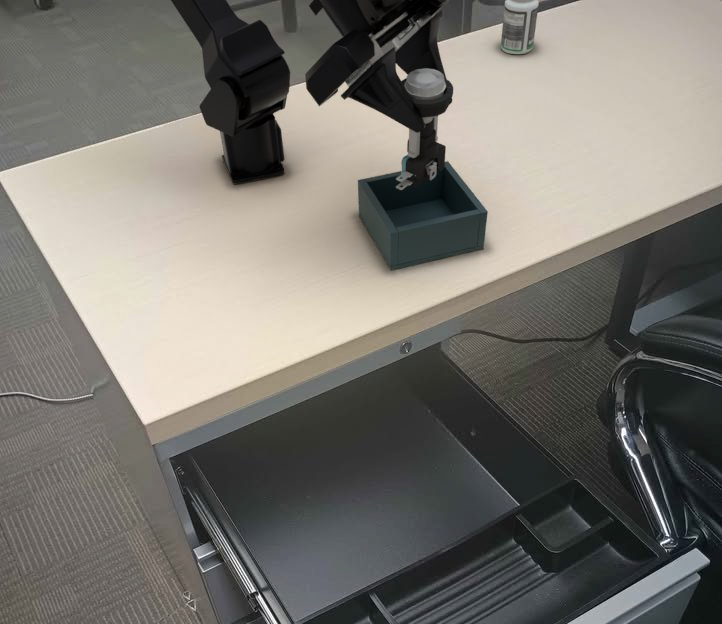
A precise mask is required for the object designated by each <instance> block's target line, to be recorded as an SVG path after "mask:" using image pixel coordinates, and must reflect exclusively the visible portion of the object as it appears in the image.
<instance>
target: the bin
mask: <svg viewBox="0 0 722 624" xmlns="http://www.w3.org/2000/svg"><path fill="white" fill-rule="evenodd" d="M401 173H402V170H399V171H394V172H390V173H385V174H380V175H375V176H370V177H366V178H360V179H358V180H357V195H358V197H357V199H358V202H357V203H358V218H359V219H360V221H361V223H362V224H363V226H364V227H365V229H366V231H367V233H368V235H369V236H370V237H371V239H372V241H373V243H374V245H375V247H376V248H377V249H378V252H379V253H380V254H381V256H382V258H383V259H384V261H385V263H386V265H387V266H388V268H389V270H390V271H393V270H399V269H404V268H407V267H411V266H415V265H419V264H424V263H428V262H432V261H438V260H441V259H446V258H450V257H455V256H458V255H463V254H467V253H472V252H476V251H481V250H484V248H485V240H486V239H485V238H486V230H487V222H488V214H489V213H488V212H489V211H488V210H487V209H486V207H485V206H484V204H483V203H482V202H481V201H480V200H479V198H478V197H477V196H476V195H475V193H474V192H473V191H472V189H471V188H470V187H469V186H468V185H467V183H466V182H465V181H464V180H463V178H462V177H461V176H460V174H459V173H458V172H457V171H456V169H455V168H454V167H453V166H452V164H451V163H450V162H449V161H448V160H447V161H446V160H445V166H444V169H443V170H442V171H440V172H439V171H436V176H435V178H433V179H432V180H429V177H428V178H427V179H426V180H424V181H423V182H422V183H421V184H419V185H418V186H417V187H414V186H411V185H410V186H409V185H408V186H407V187H405V188H404V189H403V190H400V189H398V188H396V186H397V185H399V184H400V183H401V182H400V181H398V180H396V178H397V177H399V176H400V175H401ZM433 175H434V173H433V174H432V176H433ZM400 179H402V177H401V178H400ZM400 187H403V185H401V186H400Z"/></svg>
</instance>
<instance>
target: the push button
mask: <svg viewBox="0 0 722 624" xmlns="http://www.w3.org/2000/svg"><path fill="white" fill-rule="evenodd" d="M401 81H402V83H403V85H404V87H405V88H406V90H407V92H408V93H409V95H410V97H411V98H412V100H413V102H414V104H415V105H416V107H417V109H418V110H419V112H420V114H421V116H422V118H423V121H424V123H425V128H424V129H423V130H421V131H420V132H419V133H416V132H414V131H412V130H411V129H409V128H408V139H407V142H406V145H407V146H406V152H407V154H406V155H404V156H403V157H402V159H401V171H402V173H401V175H400V176H399V177H397V178H396V180H398V181H400V182H401V183H400V184H399V185H397V186H396V188H398V189H400V190H403V189H404V188H405V187H407V186H408V185H409V186H410V185H411V186H414V187H417V186H418V185H419V184H421V183H422V182H423V181H424V180H426V179H427V178H428V177H429V180H432V179H433V178H435V176H436V171H439V172H440V171H442V170H443V169H444V166H445V162H446V151H447V150H446V149H447V146H446V145H444V144H442V143H440V142H438V141H439V139H438V138H439V136H438V126H439V125H438V124H439V116H440V115H442V114H445V113H446V111H447V110H448V108H449V106H450V105H451V104H450V99H451V98H452V99H453V96H454V85H453V84H452V82H451V81H450V80H449V79H448V78H446V79H445V78H444V75H443V74H442V73H441V72H439V71H437V70H434V69H428V68H427V69H426V68H424V69H417V70H414V71H412V72H410V73H409V74H408V75H407V74H406V77H405V78H403V79H401ZM433 173H434V175H433V176H432V174H433ZM401 177H402V179H400V178H401ZM401 185H403V187H400V186H401Z"/></svg>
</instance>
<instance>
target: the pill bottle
mask: <svg viewBox="0 0 722 624" xmlns="http://www.w3.org/2000/svg"><path fill="white" fill-rule="evenodd" d="M539 2H540V1H539V0H505V1H504V6H503V7H504V9H503V20H502V29H501V39H500V48H501V50H502V51H503V52H505V53H507V54H511V55H523V54H528V53H529V52H531V51H532V50H533V48H534V44H535V43H534V42H535V36H536V27H537V18H538V13H539V12H538V11H539Z"/></svg>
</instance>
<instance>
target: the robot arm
mask: <svg viewBox="0 0 722 624" xmlns="http://www.w3.org/2000/svg"><path fill="white" fill-rule="evenodd" d="M170 1H171V3H172V5H173V6H174V7H175V9H176V10H177V12H178V13H179V15H180V16H181V18H182V20H183V21H184V23H185V24H186V26H187V27H188V29H189V31H190V32H191V34H192V35H193V36H194V38H195V39H196V41H197V43H198V44H199V46H200V48H201V54H202V63H203V74H204V78H205V80H206V82H207V84H208V85H209V86H208V87H209V88H210V89H209V91H208V93H207V94H205V95H206V96H205V97H204V98H203V100H202V101H201V103H200V104H199V110H200V113H201V115H202V118H203V120H204V123H205V125H206V126H208V127H210V128H212V129H214V130H217V131H218V132H219V136H220V141H221V145H222V151H223V152H222V153H223V154H222V155H221V159H222V162H223V165H224V167H225V169H226V171H227V174H228V176H229V178H230V181H231V183H232V184H234V185H237V184H243V183H248V182H252V181H257V180H261V179H267V178H273V177H278V176H281V175H284V174H285V173H286V172H285V167H284V165H283V163H284V161H285V151H284V141H283V132H282V128H281V127H280V125H279V123H278V121H277V119H276V116H275V115H274V114H275V113H277V112H279V111H282V110H285V109H286V105H287V98H288V95H289V93H290V86H291V83H290V82H291V69H290V66H289V64H288V62H287V60H286V59H285V57H284V56H283V55H285V50H284V49H283V48H281V46H279V44H278V43H277V41H275V39H274V37H273V35H272V33H271V32H270V29H269V26H268V25H266V24H265V23H264V21H262V20H261V19H258V20H256V21H253V22H251V23H249V22H246V21H244V20H243V19H241V18H239V16H238V15H237V14H236V12H235V11H234V10H233V8H232V7H231V4H229V2H228V0H170ZM449 1H450V0H312V1H311V2H310V3H309V5H308V7H309V8H310V10H311V11H312V13H313V14H314V15H315V17H316V16H318V15H320V14H321V13H323V12H325V14H326V15H327V18H328V19H329V20H330V22H331V23H332V24H333V26H334V27H335V29H336V30H337V31H338V33H339V35H340V36H341V38H339V39H338V40H336V41H335V42H334V43H332V44H331V46H330V47H329V48H328V49H326V51H325V52H324V53H323V54H322V55H321V57H319V59H318V60H316V62H315V63H314V64H313V65H312V66H311V67H310V68H309V69H308V70H307V71H306V73H305V74H304V76H305V89H306V91H307V92H308V93H309V95H310V96H311V98H312V99H313V100H314V102H315V103H316V104H317V106H318V107H321V106H322V105H323V104H325V103H326V102H327V101H329V100H330V99H331V98H332V97H334V96H335V95H336V94H337V93H338V92H339V89H340V87H341V86H342V85H343V84H344V83H345V84H346V85H347V89H346V90H345V91H343V92H342V93H341V95H340V98H342V100H347V99H351V100H354V101H355V102H358V103H360V104H362V105H364V106H365V107H368V108H371V109H372V110H374V111H377V112H378V113H381V114H382V115H384V116H386V117H387V118H390V119H391V120H393V121H395V122H397V123H398V124H400V125H402V126H403V127H405V128H407V129H408V130H409V129H411V130H412V131H414V132H416V133H419V132H420V131H421V130H423V129H424V128H425V123H424V121H423V118H422V116H421V114H420V112H419V110H418V109H417V107H416V105H415V104H414V102H413V100H412V98H411V97H410V95H409V93H408V92H407V90H406V88H405V87H404V85H403V83H402V79H401V78H400V77H399V74H398V73H397V67H399V68H400V70H402V71H403V72H404V73H405V74H406V76H407V75H408V74H409V73H410V72H412V71H414V70H417V69H424V68H426V69H427V68H428V69H434V70H437V71H439V72H441V73H442V74H443V75H444V78H445V79H447V75H446V72H445V68H444V65H443V61H442V57H441V53H440V48H439V43H438V33H439V29H440V24H441V23H440V22H441V19H442V18H444V11H443V9H442V7H443V6H445V5H446V4H448V2H449ZM440 9H441V10H440ZM438 11H439V12H438ZM391 42H392V43H393V45H394V46H393V47H392V48H391V49H389V50H388V51H387V52H386V53H385V51H384V50H383V48H385V46H387V45H389V44H390V43H391ZM452 103H453V97H452V98H451V99H450V105H451V104H452Z"/></svg>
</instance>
